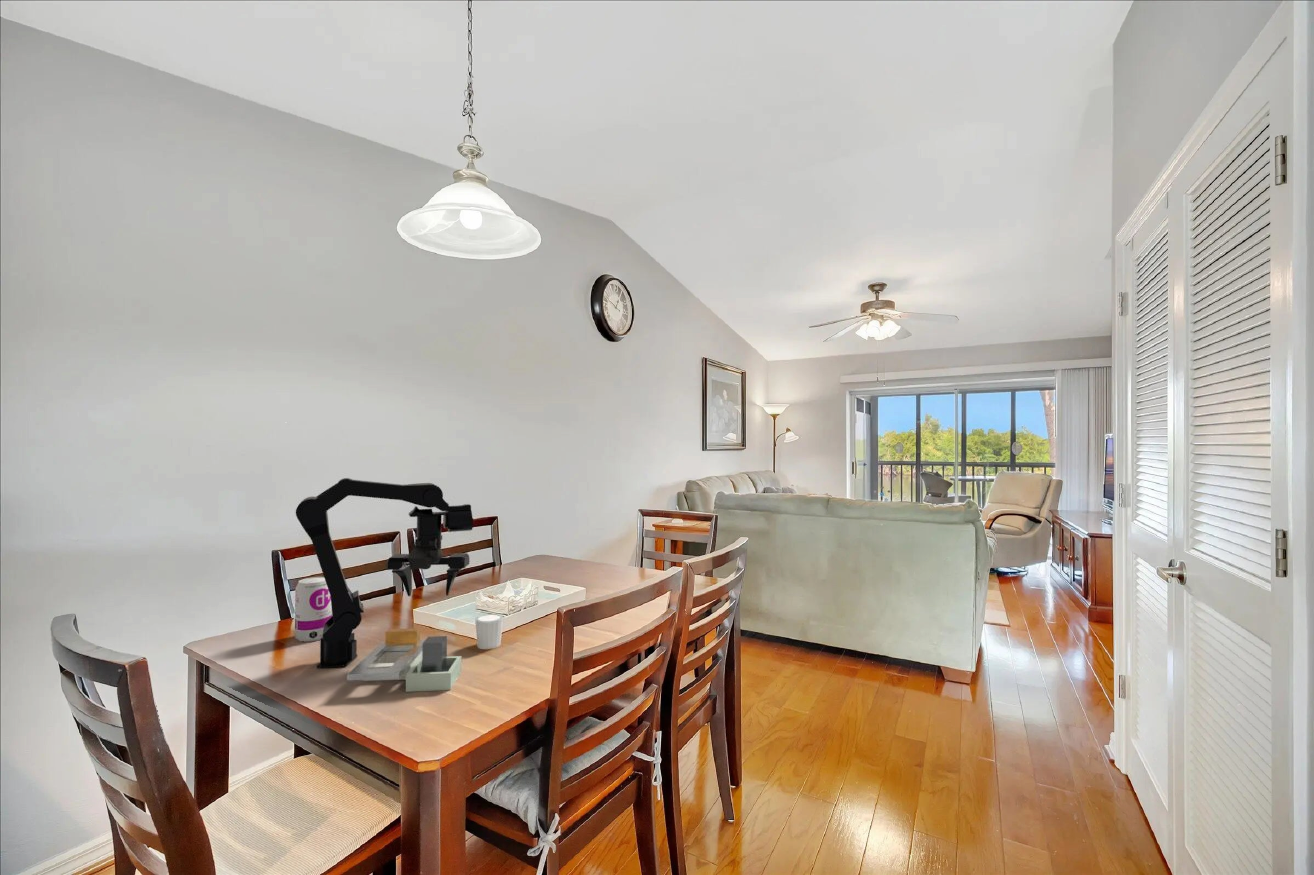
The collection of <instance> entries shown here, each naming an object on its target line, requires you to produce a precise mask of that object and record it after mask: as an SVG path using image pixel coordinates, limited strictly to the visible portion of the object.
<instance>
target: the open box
mask: <svg viewBox="0 0 1314 875" xmlns="http://www.w3.org/2000/svg"><path fill="white" fill-rule="evenodd" d="M447 667H451V668H450V669H449V671H448V672H423V673H422V658H419V659H418V661H417V662H416V663H415V664H414V665H413V667H412V668H411V669H410V670H409V672H408V673H407V674H406V680H405V692H406V693H409V692H428V691H429V692H431V691H452V689H453V687H454V684H455V683H456V682H457V679H458V678H459V676H460V674H461V673H462V655H457V656H447Z"/></svg>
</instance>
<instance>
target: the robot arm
mask: <svg viewBox="0 0 1314 875" xmlns="http://www.w3.org/2000/svg"><path fill="white" fill-rule="evenodd" d="M348 496H349V497H351V496H353V497H361V498H375V499H384V500H396V501H403V502H405V503H406V502H407V503H410V504H413V505H416V506H414V507H413V509H412V510H410V512H408V516H409V517H410V518H416V538H415V541H414V546H413V549H411V552H409V553H396V554H394V555H392V556H390V557H388V558H387V560H386V563H385V566H386V567H385V569H386V570H388V571H390V570H391V573H392V574H396V575H398V576H399V578H400V580H401V582H402V584H403V586H404V590H405V592H406V595H407V596H408V597H411V596H412V591H413V572H412V570H413V571H415V570H429V569H430V568H431V567H432V566H438V565H439V566H440V565H442V566H443V565H444V566H445V565H446V566H448V567H449V568H447V570H446V575H447V576H446V585H445V586H446V587H445V595H446V597H447V596H449V595H450V592H451V590H452V588H453V584H454V581H455V579H456V577H457V575H458V573H459V572H460V571H462V570H463V569H465V568H467V566H469V565H470V555H469V554H468V553H467V552H464V553H463V552H461V553H460V552H458V553H456V552H455V553H452V554H451V555H449V556H443V551H442V540H443V534H442V525H443V529H447V531H448V533H452V532H453V533H454V532H465V531H466V532H467V531H473V528H474V517H473V512H472V505H471V504H469V503H467V504H466V503H465V504H459V505H450V504H449V503H448V502H447V501H446V500H445V499H444V498H443V497H444V493H443V490H442V489H441V487H439V486H438V485H437V484H435V483H432V482H423V483H421V482H420V483H409V484H398V483H389V482H380V481H379V482H378V481H370V480H369V481H368V480H358V479H353V478H349V477H344V478H341V479H340V480H338V482H337V483H335V484H334V485H332V486H330V487H328V488H327V489H326V490H324V491H322V492H321V493H319V494H318V495H317V496H307V497H305V498H304V499H303V500H301V501H300V503H298V505H297V507H296V509H295V516H296V518H297V520H298V522H299V523H300V525H301V527H302V528H303V530H304V531H305V533H306V534H307V536H308V537H309V538H310V541H311V542H312V545H313V548H314V551H315V554H316V557H317V560H318V563H319V566H320V568H321V569H320V570H321V572H322V575H323V577H324V578H325V581H326V584H327V587H328V590H329V593H330V596H331V606H332V617H331V618H330V619H329V620H328V621H327V622H325V623H324V628H323V637H322V638H320V640H319V641H320V646H319V647H320V648H319V649H320V650H319V658H320V659H319V663H318V664H316V668H317V669H319V668H344V667H347V666H348V665H350V663H351V662H353V661H355V659H356V658H357V657H358V652H357V650H358V649H357V646H358V645H357V642H358V641H357V639H355V632H353V631H354V630H356V628H358V626H359V625H360V624H361V622H362V619H363V617H362V614H363V613H364V604H363V602H362V601H361V600H360V594H359V590H356V591H353V592H352V591H351V589H350V588H349V586H348V584H347V581H346V578H345V575H344V573H343V571H344V570H343V569H342V566H341V563H340V560H339V556H338V554H337V552H336V551H337V550H336V548H335V544H334V542H333V539H332V536H331V533H330V524H329V515H328V511H329V510H330V509H331V508H334V507H335V506H336V505H338V503H340V502H341V501H343V500H344V499H345V498H347V497H348ZM418 506H421V507H425V508H419V507H418ZM432 508H435V509H438V510H440V511H433V509H432ZM442 516H443V518H442Z"/></svg>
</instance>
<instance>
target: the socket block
mask: <svg viewBox="0 0 1314 875" xmlns="http://www.w3.org/2000/svg"><path fill="white" fill-rule="evenodd" d="M408 652H409V651H385V652H384V653H383V654H382V655H381V656H380V657H379V658H378V663H377V664H376V665H375V666H374V667H373V668H372V669H381V668H391V666H392V665H393V664H394V663H395V662H396V661H397V660H398V659H399V658H400V657H401V656H405V655H406V654H407V653H408ZM419 658H422V651H421V652H420V654H419V655H418V656H417V657H416V658H415V660H414V661H413V662H412V663H411V664H410V666H409V667H408V668H407V669H406V670H405V672H404V673H403V674H402V675H401V676H400V677H399V678H397V679H370V680H361V681H362V682H370V681H371V682H374V681H375V682H376V681H378V682H379V681H399V680H400V681H402V680H405V681H406V674H407V673H408V672H409V670H410V669H411V668H412V667H413V665H414V664H415V663H416V662H417V661H418V659H419Z"/></svg>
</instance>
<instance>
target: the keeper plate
mask: <svg viewBox="0 0 1314 875" xmlns="http://www.w3.org/2000/svg"><path fill="white" fill-rule="evenodd" d="M420 629H421V628H420V627H417V628H415V627H414V628H412V627H411V628H388V629H387V630H386V631H385V641H381V643H379V644H378V645H376V647H375V648H374V649H373V650H372V651H371V652H369V654H367V655H366V656H365V657H364V658H363V659H362V660H361V661H360V662H359V663H358V664H357V665H356V666H355V667H354V668H352V669H351V670H350V672H348V673H347V676H346V679H347V680H346V681H362V680H370V679H397V678H399V677H400V676H401V675H402V674H403V673H404V672H405V670H406V669H407V668H408V667H409V666H410V664H411V663H412V662H413V661H414V660H415V658H416V657H417V656H418V655H419V654H420V652H421V651H422V646H423V642H424V641H425V640H421V639H420V638H421V637H420V633H421V630H420ZM385 651H409V652H408V653H407V654H406V655H405V656H401V657H400V658H399V659H398V660H397V661H396V662H395V663H394V664H393V665H392V666H391V668H381V669H372V668H373V667H374V666H375V665H376V664H377V663H378V658H379V657H380V656H381V655H382V654H383V653H384V652H385Z"/></svg>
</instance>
